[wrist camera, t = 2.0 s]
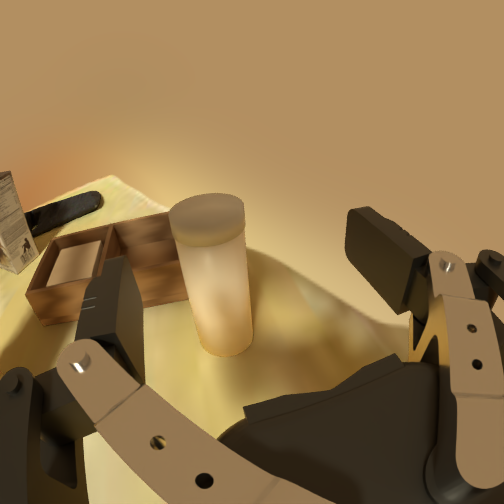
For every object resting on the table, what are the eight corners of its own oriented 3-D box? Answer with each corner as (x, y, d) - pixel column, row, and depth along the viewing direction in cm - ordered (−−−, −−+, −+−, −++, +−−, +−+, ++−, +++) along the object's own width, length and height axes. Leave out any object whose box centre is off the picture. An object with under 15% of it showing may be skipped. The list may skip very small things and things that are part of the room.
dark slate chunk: (103, 216, 55) (97, 194, 52) (11, 249, 47) (2, 229, 45) (102, 192, 67) (97, 174, 64) (24, 220, 59) (18, 203, 56)
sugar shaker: (203, 363, 26) (169, 233, 19) (195, 322, 31) (167, 201, 23) (261, 349, 27) (252, 218, 20) (246, 311, 32) (234, 188, 24)
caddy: (43, 325, 30) (24, 294, 27) (63, 266, 41) (51, 238, 38) (196, 297, 34) (188, 261, 31) (185, 240, 44) (180, 209, 42)
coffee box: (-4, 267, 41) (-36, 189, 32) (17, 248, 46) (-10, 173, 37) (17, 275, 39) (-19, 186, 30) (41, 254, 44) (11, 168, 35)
